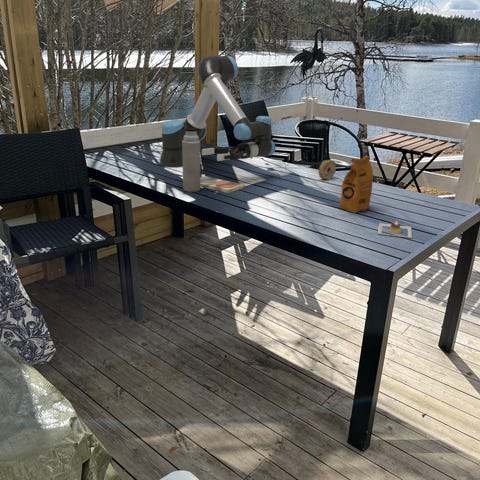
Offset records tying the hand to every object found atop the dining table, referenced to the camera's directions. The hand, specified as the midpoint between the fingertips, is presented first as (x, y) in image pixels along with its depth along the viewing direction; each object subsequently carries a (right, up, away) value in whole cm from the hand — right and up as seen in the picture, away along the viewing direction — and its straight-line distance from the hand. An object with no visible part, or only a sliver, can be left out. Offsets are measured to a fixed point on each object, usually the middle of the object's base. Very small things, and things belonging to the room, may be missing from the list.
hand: (209, 155), depth 230 cm
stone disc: (+58, -8, +24) cm, 64 cm away
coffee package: (+63, -26, -20) cm, 71 cm away
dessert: (+72, -37, -44) cm, 92 cm away
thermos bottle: (-8, -16, +1) cm, 18 cm away
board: (+3, -13, +7) cm, 15 cm away
